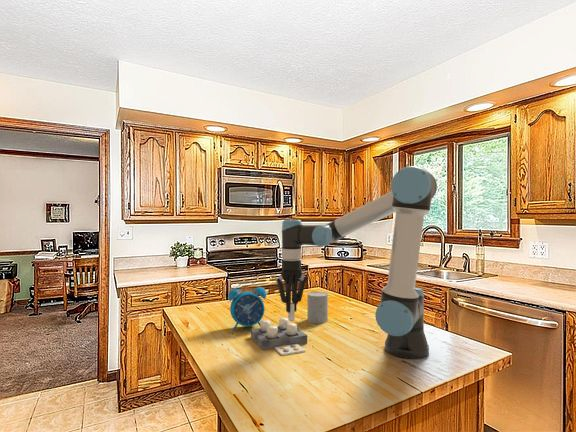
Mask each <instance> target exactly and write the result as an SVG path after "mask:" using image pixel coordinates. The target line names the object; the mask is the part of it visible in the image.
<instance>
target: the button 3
mask: <svg viewBox="0 0 576 432" xmlns="http://www.w3.org/2000/svg"><path fill="white" fill-rule="evenodd" d="M288 323H290V320H288V317H280V318H279V319H278V326H279V328H280V329H287V324H288Z"/></svg>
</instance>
